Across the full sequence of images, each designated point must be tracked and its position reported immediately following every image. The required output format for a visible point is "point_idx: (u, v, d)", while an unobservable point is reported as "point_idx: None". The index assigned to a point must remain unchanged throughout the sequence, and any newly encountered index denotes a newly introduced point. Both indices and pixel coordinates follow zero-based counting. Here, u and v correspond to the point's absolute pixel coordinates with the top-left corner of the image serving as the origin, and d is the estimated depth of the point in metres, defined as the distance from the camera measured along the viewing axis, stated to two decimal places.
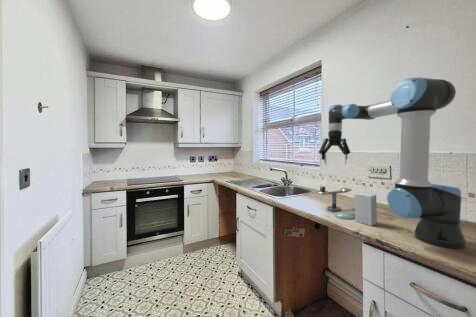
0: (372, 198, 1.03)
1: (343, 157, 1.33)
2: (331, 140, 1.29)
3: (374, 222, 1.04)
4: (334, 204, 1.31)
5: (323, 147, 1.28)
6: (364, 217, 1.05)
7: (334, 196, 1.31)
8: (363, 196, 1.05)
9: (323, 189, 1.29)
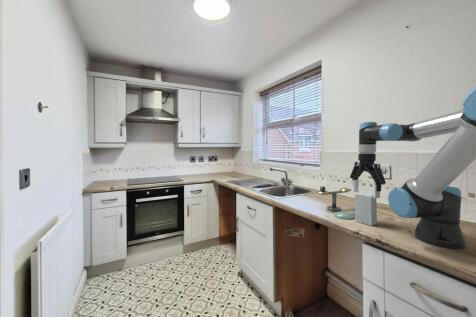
0: (372, 198, 1.03)
1: None
2: (360, 164, 1.09)
3: (374, 222, 1.04)
4: (334, 204, 1.31)
5: (352, 171, 1.15)
6: (364, 217, 1.05)
7: (334, 196, 1.31)
8: (363, 196, 1.05)
9: (323, 189, 1.29)
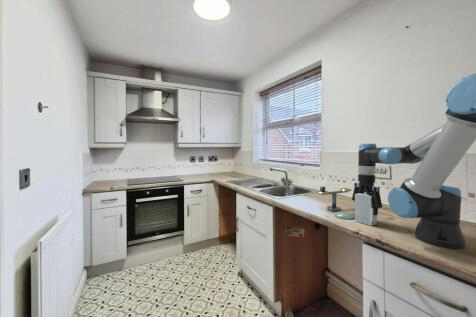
0: None
1: None
2: (360, 185, 1.10)
3: (374, 222, 1.04)
4: (334, 204, 1.31)
5: (353, 193, 1.14)
6: (364, 217, 1.05)
7: (334, 196, 1.31)
8: (363, 196, 1.05)
9: (323, 189, 1.29)
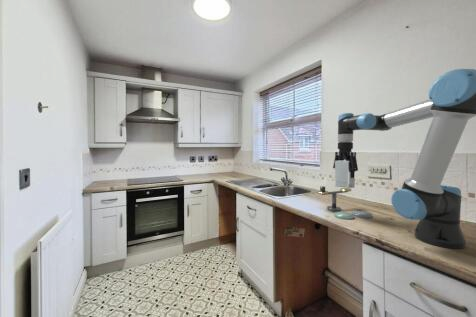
0: None
1: None
2: (339, 153, 1.19)
3: (352, 185, 1.14)
4: (334, 204, 1.31)
5: (334, 162, 1.24)
6: (343, 181, 1.15)
7: (334, 196, 1.31)
8: (342, 162, 1.15)
9: (323, 189, 1.29)
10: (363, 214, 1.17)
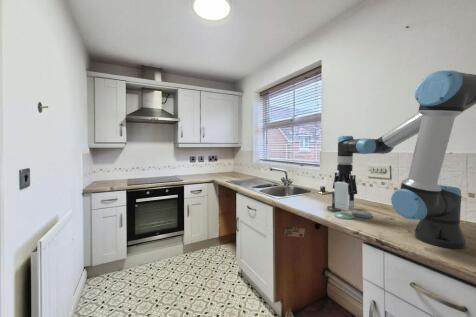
0: None
1: None
2: None
3: (351, 207, 1.14)
4: (334, 204, 1.31)
5: None
6: (342, 203, 1.15)
7: (334, 196, 1.31)
8: (341, 184, 1.15)
9: (323, 189, 1.29)
10: (363, 214, 1.17)
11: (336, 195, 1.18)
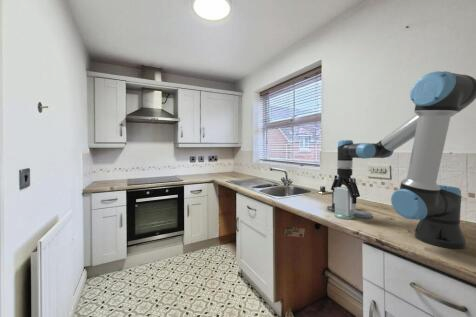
0: None
1: None
2: (339, 178, 1.20)
3: (351, 213, 1.14)
4: (334, 204, 1.31)
5: (332, 184, 1.25)
6: (342, 208, 1.15)
7: None
8: (341, 189, 1.16)
9: (323, 189, 1.29)
10: (363, 214, 1.17)
11: (336, 201, 1.18)
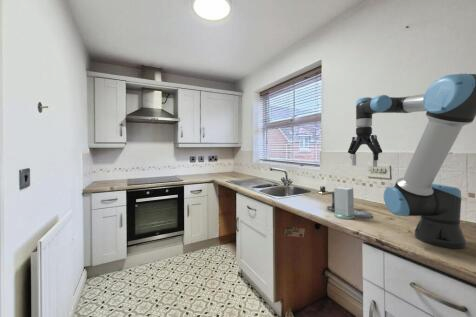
0: (349, 191, 1.13)
1: None
2: (357, 138, 1.17)
3: (351, 213, 1.14)
4: (334, 204, 1.31)
5: None
6: (342, 208, 1.15)
7: None
8: (341, 189, 1.16)
9: (323, 189, 1.29)
10: (363, 214, 1.17)
11: (336, 201, 1.18)
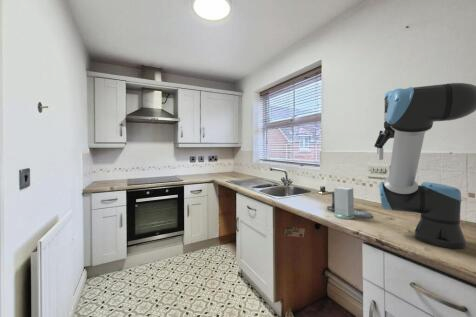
0: (349, 191, 1.13)
1: None
2: (385, 132, 1.16)
3: (351, 213, 1.14)
4: (334, 204, 1.31)
5: None
6: (342, 208, 1.15)
7: None
8: (341, 189, 1.16)
9: (323, 189, 1.29)
10: (363, 214, 1.17)
11: (336, 201, 1.18)
